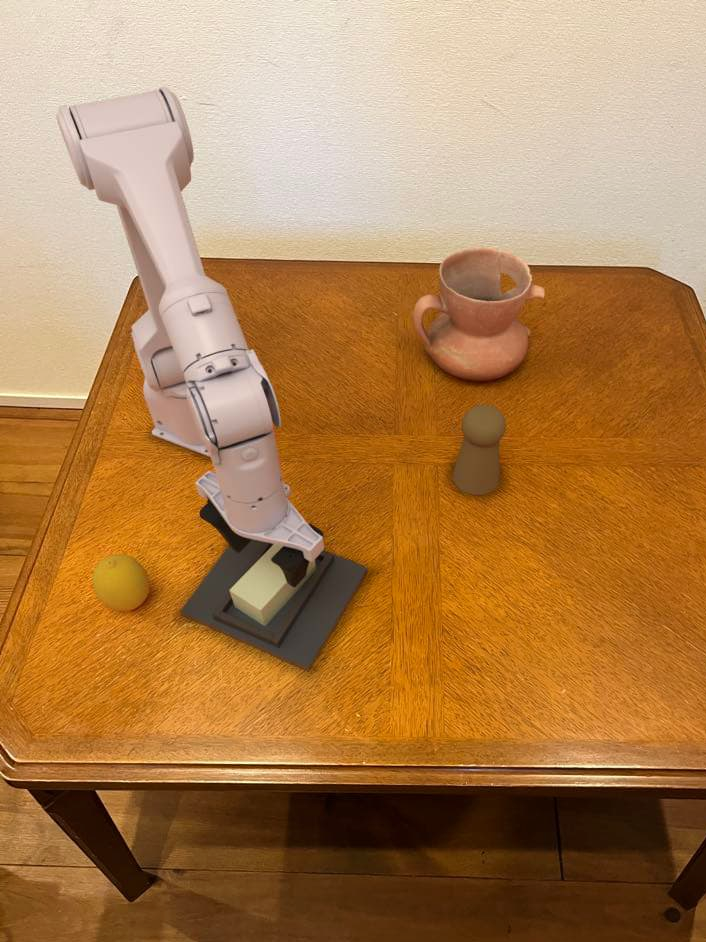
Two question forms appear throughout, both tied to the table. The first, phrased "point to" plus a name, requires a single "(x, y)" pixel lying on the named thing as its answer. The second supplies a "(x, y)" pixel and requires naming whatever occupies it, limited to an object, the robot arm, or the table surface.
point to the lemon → (120, 582)
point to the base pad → (298, 621)
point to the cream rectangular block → (265, 588)
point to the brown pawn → (480, 450)
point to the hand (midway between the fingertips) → (269, 562)
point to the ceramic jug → (478, 315)
